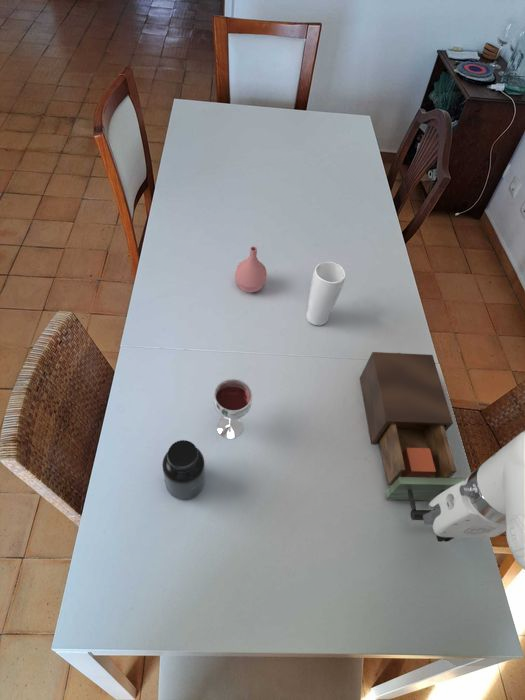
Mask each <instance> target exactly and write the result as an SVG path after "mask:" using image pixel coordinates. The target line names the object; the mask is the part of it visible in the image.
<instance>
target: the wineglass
mask: <svg viewBox="0 0 525 700" xmlns="http://www.w3.org/2000/svg"><path fill="white" fill-rule="evenodd" d="M213 396H214V397H213V407H214V409H215V410H216V413H218V415H220V416H221V417H222V418H220V419H219V421H218V423H217V425H216V426H217V428H216V429H217V432H218V433H219V435H220V436H222V437H223V438H225V439H231V440H232V439H235V438H237V437H239V436H240V435H241V434H242V433H243V430H244V429H243V428H244V425H243V422H242V421H241V418H243V417H245V416H246V414H248V412H249V411H250V409H251V407H252V401H253V392H252V389H251V387H250V386H249V385H248V384H247V383H246V382H245V381H243V380H241V379H238V378H228V379H225V380H223V381H220V383H219V384H217V385H216V388H214V393H213Z"/></svg>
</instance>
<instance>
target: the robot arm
mask: <svg viewBox="0 0 525 700" xmlns="http://www.w3.org/2000/svg"><path fill="white" fill-rule="evenodd" d="M427 507H428V508H429V510H432V511H430V512H428V513H426V514H424V515H423V520H422V521H423V523H424V525H427V526H428V525H430V526H432V531H433V534H434V535H435V536H436V539H437V542H445V543H447V542H450V541H452V540H453V539H455V538H461V539H465V538H468V539H469V538H471V539H472V538H474V539H475V538H476V539H477V538H478V539H480V538H481V539H482V538H484V539H485V538H486V539H487V538H495V537H498V536H500V535H502V534H503V533H505V536H506V542H507V545H508V547H509V549H510V552H511V555H512V557H513V558H514V560H515V562H516V564H517V565H518V566H519V567H520V568H522V569H523V570H524V571H525V430H523V431H522V432H520V433H519V434H517V435H516V436H515V437H514V438H513V439H511V440H510V441H508V442H507V443H506V444H505V445H504V446H503V447H501V448H500V449H499V450H498V451H497V452H495V453H494V454H492V456H490V457H489V458H488V459H487V460H485V461H484V462H483V463H482V464H480V465H479V466H478V467H477V468H475V469H474V470H473V471H472V472H471V473H470V474H468V476H467V478H466V479H464V481H462V482H460V483H457V484H456V485H454V486H452V487H450V488H448V489H447V490H445V491H443V492H442V493H440V494H439V495H438V496H436V497H435V498H434V499H433V500H430V502H429V503H428V505H427Z"/></svg>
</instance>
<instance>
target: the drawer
mask: <svg viewBox="0 0 525 700" xmlns="http://www.w3.org/2000/svg"><path fill="white" fill-rule="evenodd" d="M379 442H380V444H379V447H380V452H381V457H382V463H383V468H384V474H385V479H386V483H387V485H386V486H390V487H388V489H387V490H386V491H385V492H384V495H385V496H384V497H385V500H395V501H396V500H397V501H398V500H399V501H409V504H410V508H411V510H410V512H409V513H410V514H409V515H410V520H412V521H424V520H423V515H424V514H426V513H428V512H430V511H432V510H433V509H417V507H416V502H415V501H432V500H433V499H434V498H435V497H436V496H438V495H439V494H440V493H442V492H443V491H445V490H447V489H448V488H450V487H452V486H454V485H456V484H457V483H460V482H462V481H464V480H465V478H462V477H452V476H453V475H454V474H455V473H457V472H458V470H457V467H456V463H455V460H454V456H453V452H452V449H451V446H450V443H449V438H448V436H447V431H446V432H445V428H444V425H428V424H397V423H389V424H388V426H387V427H386V429H385V430H384V432H383V433H382V435H381V436H380V438H379ZM406 448H430V450H431V454H432V458H433V462H434V466H435V470H436V472H435V473H434V474H433V475H432V476H431V477H430V478H422V477H402V473H403V472H404V471H405V465H404V461H403V456H402V452H403V451H404V450H405V449H406Z"/></svg>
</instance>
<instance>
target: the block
mask: <svg viewBox="0 0 525 700" xmlns="http://www.w3.org/2000/svg"><path fill="white" fill-rule="evenodd" d="M402 456H403V461H404V465H405V471H404V472H403V473H402V477H422V478H430V477H431V476H432V475H433V474H434V473H435V472H436V470H435V466H434V462H433V458H432V454H431V450H430V448H406V449H405V450H404V451H403V452H402Z"/></svg>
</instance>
